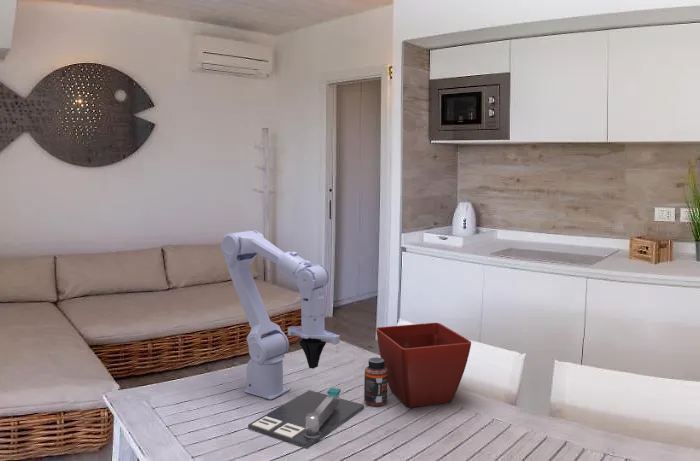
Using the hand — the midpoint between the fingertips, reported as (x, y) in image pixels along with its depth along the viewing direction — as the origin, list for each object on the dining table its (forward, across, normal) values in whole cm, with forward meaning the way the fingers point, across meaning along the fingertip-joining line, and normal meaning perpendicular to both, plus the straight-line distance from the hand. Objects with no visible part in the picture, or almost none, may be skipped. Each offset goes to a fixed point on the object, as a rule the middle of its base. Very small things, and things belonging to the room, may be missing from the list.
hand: (313, 367), depth 148 cm
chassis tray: (+10, +3, -6) cm, 12 cm away
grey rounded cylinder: (+10, +10, -14) cm, 20 cm away
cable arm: (+9, +7, -5) cm, 13 cm away
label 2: (+10, +4, -15) cm, 19 cm away
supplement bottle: (+11, +12, +11) cm, 19 cm away
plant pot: (+11, +20, +21) cm, 31 cm away
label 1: (+10, -2, -15) cm, 19 cm away
